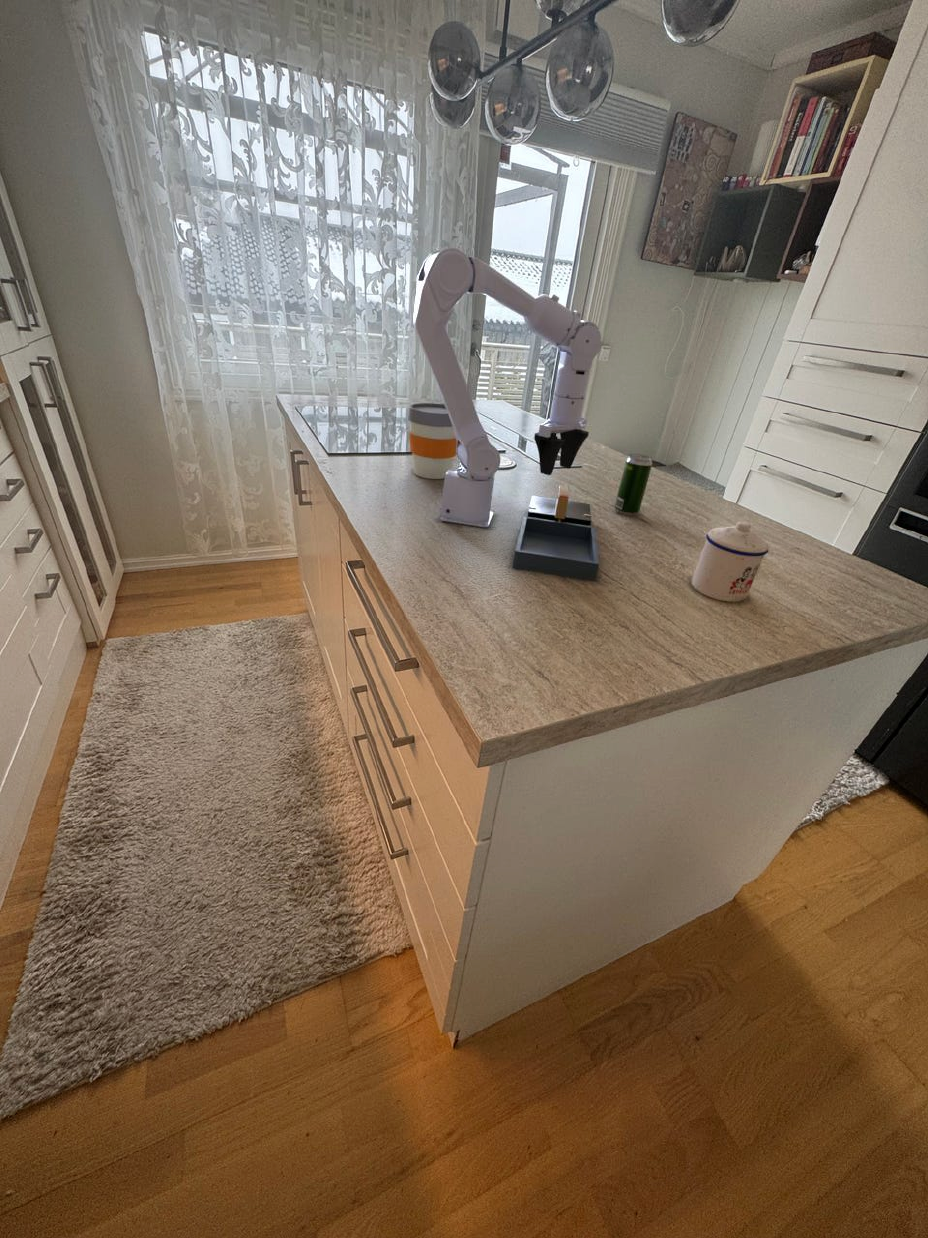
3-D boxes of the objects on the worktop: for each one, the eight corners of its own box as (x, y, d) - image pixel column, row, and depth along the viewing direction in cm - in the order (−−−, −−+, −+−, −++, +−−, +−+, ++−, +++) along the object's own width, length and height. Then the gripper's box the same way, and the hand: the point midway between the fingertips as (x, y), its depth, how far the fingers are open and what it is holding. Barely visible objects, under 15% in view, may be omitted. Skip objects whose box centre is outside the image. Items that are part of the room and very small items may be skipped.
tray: (512, 568, 85) (515, 550, 84) (520, 531, 99) (523, 515, 98) (595, 581, 84) (599, 564, 82) (591, 541, 98) (595, 526, 96)
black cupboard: (528, 511, 109) (531, 494, 107) (586, 519, 108) (590, 503, 106) (523, 535, 98) (526, 517, 96) (588, 545, 96) (592, 526, 94)
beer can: (627, 517, 111) (642, 461, 105) (608, 509, 115) (622, 454, 109) (643, 514, 114) (659, 459, 108) (624, 506, 118) (638, 452, 111)
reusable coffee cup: (457, 483, 121) (462, 416, 113) (403, 478, 120) (405, 410, 112) (458, 468, 131) (463, 405, 124) (409, 463, 131) (411, 400, 123)
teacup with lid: (734, 609, 80) (764, 539, 74) (679, 586, 85) (703, 519, 79) (762, 588, 87) (791, 523, 81) (710, 567, 92) (734, 505, 86)
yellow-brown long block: (555, 504, 104) (559, 483, 101) (564, 505, 103) (568, 484, 101) (554, 517, 97) (558, 496, 95) (564, 519, 97) (568, 497, 95)
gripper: (569, 403, 87) (554, 482, 94) (606, 397, 97) (590, 469, 104) (534, 395, 90) (522, 472, 98) (573, 390, 100) (560, 460, 108)
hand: (555, 470), depth 101 cm, fingers open, 7 cm apart
